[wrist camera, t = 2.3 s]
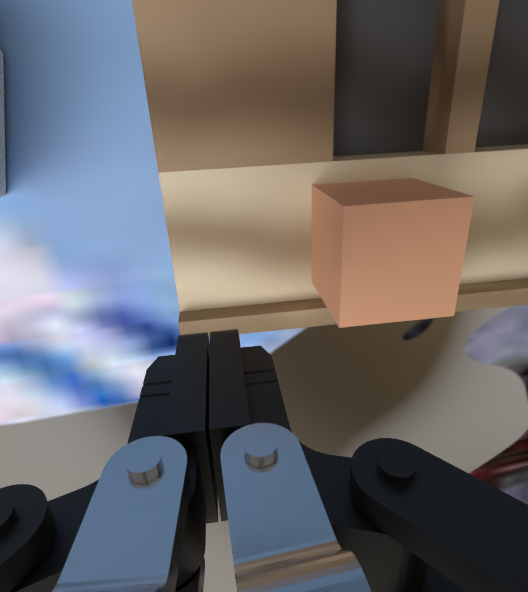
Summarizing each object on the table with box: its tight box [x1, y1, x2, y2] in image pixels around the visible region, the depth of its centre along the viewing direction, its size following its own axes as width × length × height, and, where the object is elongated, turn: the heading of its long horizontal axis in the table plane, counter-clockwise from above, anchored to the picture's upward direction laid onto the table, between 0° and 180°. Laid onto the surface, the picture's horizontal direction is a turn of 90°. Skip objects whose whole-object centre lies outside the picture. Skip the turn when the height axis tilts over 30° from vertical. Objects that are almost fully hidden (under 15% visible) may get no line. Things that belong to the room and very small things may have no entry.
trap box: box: [132, 0, 528, 337], centre depth 19 cm, size 16×22×4 cm
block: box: [311, 178, 475, 328], centre depth 18 cm, size 5×5×5 cm
